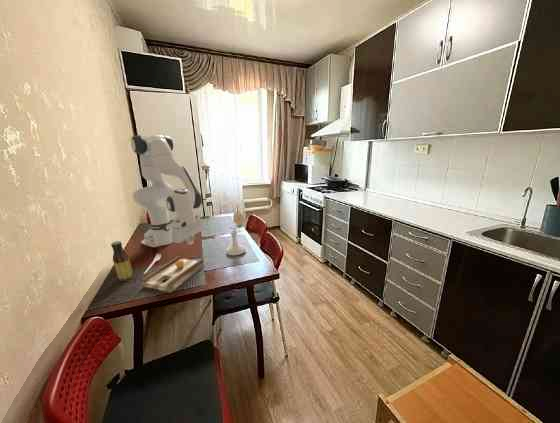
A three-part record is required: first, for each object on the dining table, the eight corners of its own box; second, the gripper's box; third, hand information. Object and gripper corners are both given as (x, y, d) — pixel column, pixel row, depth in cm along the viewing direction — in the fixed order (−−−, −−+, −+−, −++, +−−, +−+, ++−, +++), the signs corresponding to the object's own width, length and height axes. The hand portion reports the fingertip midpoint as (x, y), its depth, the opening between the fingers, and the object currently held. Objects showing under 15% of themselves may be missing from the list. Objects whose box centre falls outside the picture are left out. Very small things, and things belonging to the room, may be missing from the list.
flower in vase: (229, 259, 132) (224, 217, 124) (224, 251, 141) (219, 212, 134) (250, 253, 137) (247, 213, 130) (244, 246, 147) (240, 208, 140)
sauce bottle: (123, 275, 119) (113, 240, 114) (135, 274, 120) (127, 239, 114) (115, 282, 113) (105, 245, 107) (129, 281, 114) (119, 244, 108)
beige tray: (143, 286, 109) (141, 279, 108) (180, 262, 130) (178, 255, 129) (170, 292, 104) (168, 284, 103) (203, 265, 125) (202, 259, 124)
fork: (141, 275, 120) (140, 272, 120) (156, 256, 139) (156, 253, 139) (147, 274, 120) (147, 271, 120) (162, 256, 139) (161, 253, 139)
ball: (174, 268, 119) (173, 261, 118) (180, 264, 122) (178, 258, 121) (180, 269, 118) (179, 262, 116) (186, 265, 121) (185, 259, 120)
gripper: (194, 213, 132) (198, 236, 136) (167, 225, 114) (172, 251, 118) (203, 214, 130) (207, 237, 134) (177, 226, 112) (182, 252, 116)
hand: (190, 243), depth 126 cm, fingers closed
